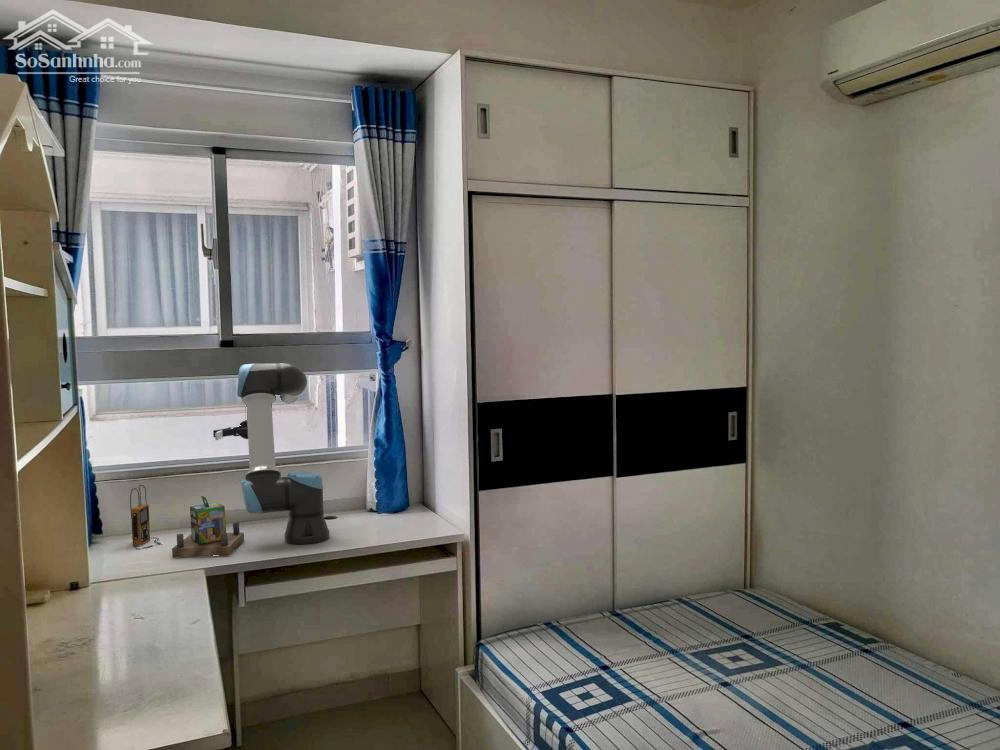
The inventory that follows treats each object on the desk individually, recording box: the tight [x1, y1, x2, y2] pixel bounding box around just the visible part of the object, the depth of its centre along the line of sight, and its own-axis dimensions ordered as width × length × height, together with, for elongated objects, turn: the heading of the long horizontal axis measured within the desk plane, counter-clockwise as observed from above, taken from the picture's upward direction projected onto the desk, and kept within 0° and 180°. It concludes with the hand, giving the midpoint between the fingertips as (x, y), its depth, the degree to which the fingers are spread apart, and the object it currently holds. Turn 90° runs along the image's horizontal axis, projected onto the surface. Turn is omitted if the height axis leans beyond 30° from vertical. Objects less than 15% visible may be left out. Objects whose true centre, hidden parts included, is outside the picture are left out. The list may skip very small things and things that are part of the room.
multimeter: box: [129, 484, 163, 550], centre depth 266 cm, size 15×10×20 cm
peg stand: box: [171, 521, 245, 558], centre depth 259 cm, size 18×18×7 cm
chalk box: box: [189, 495, 227, 545], centre depth 258 cm, size 9×9×15 cm
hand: (235, 436), depth 284 cm, fingers open, 13 cm apart
